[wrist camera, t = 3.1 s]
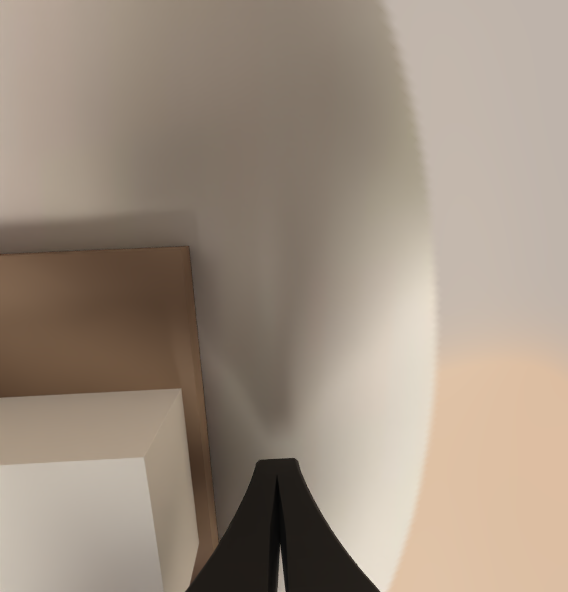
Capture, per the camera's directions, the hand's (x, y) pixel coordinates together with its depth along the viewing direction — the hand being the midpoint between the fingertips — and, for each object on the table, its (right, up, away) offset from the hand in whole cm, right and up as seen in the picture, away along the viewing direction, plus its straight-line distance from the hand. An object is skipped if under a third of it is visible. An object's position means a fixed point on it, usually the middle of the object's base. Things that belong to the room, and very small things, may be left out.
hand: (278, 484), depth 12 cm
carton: (-8, 0, +1) cm, 8 cm away
